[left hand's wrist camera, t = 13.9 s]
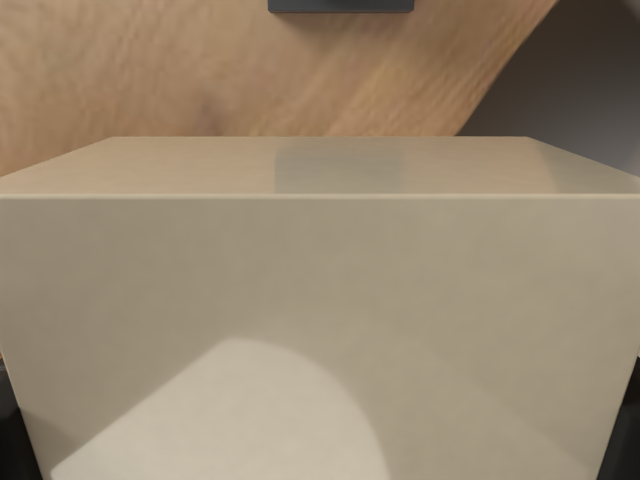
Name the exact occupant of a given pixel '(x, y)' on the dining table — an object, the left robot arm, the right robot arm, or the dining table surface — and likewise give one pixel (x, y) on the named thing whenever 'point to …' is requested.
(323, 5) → the grey base with post
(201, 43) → the dining table surface
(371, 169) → the beige square block
